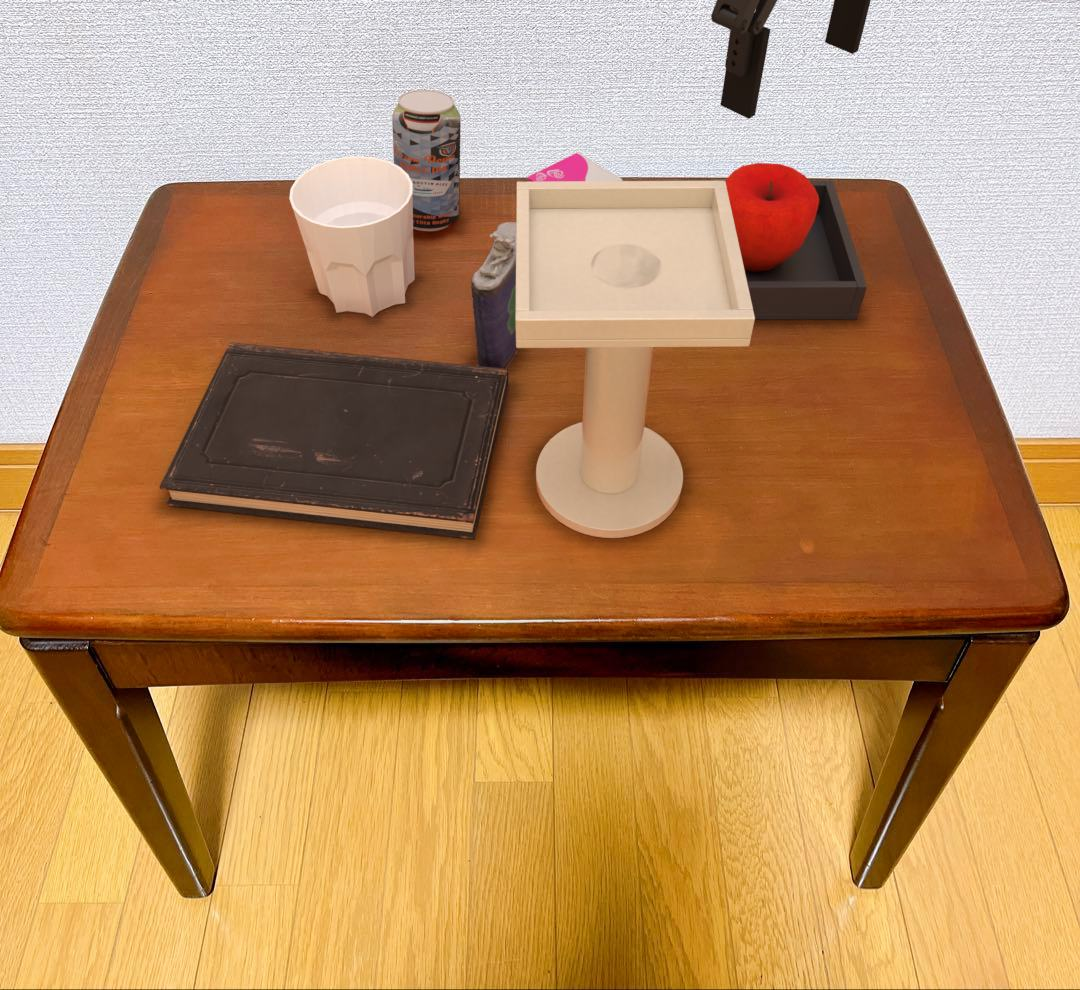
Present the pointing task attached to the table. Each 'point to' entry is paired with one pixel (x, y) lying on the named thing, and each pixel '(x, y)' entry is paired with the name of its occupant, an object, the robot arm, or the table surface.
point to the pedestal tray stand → (623, 328)
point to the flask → (496, 300)
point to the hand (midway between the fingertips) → (791, 77)
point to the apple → (770, 212)
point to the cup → (357, 231)
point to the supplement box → (573, 171)
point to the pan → (813, 271)
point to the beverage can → (429, 155)
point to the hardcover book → (342, 440)
